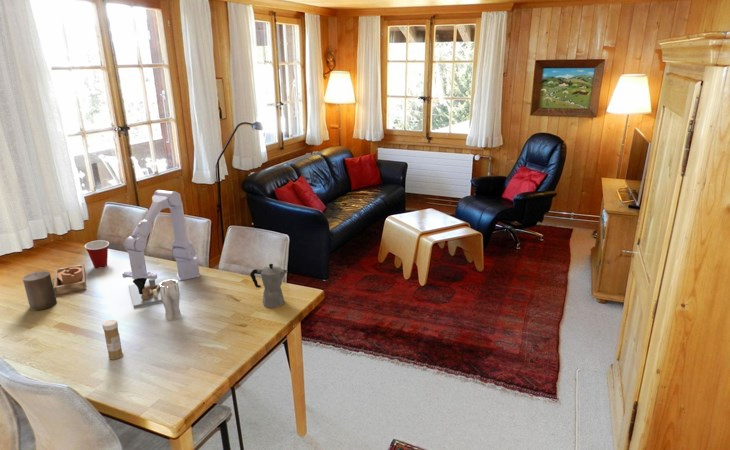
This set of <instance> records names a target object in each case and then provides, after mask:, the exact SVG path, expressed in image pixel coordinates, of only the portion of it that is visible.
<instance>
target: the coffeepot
mask: <svg viewBox="0 0 730 450" xmlns="http://www.w3.org/2000/svg"><path fill="white" fill-rule="evenodd" d="M287 273H288V270H287V269H285V268H284V269H283V268H282V267H281V266H275V265H274V264H273V263H269V264H268V266H266V267H264V268H260V269H256V268H255V269H253V270H252V271H251V272H250V274H249V275H250V277H251V280H252V281H253V285H254V286H255V288H256V289H257V288H262V285H263V287H264V289H263V296H262V304H263V306H264V307H265V308H268V309H275V308H279V307H281V306H283V305H284V303H285V299H284V294H283V291H282V287H281V286H282V283H283V278H284V277H285V275H286V274H287ZM255 274H256V275H260V276H261V277H260V278H261V281H262V285H261V284H259V283H258V281H257V277H256V275H255Z"/></svg>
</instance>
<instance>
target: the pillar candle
mask: <svg viewBox="0 0 730 450" xmlns="http://www.w3.org/2000/svg"><path fill="white" fill-rule="evenodd" d="M22 281H23V284H24V285H23V286H24V289H25V294H26V297H27V301H28V304H29V309H30V310H32V311H43V310H46V309H50V308H52V307H54V306H56V305H57V303H58V301H57V295H55V292H54V283H53V282H52V281H53V280H52V277H51V273H50V272H49V271H47V270H40V271H34V272H31V273H28V274H26V275H24V276H23V277H22Z"/></svg>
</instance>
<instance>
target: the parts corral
mask: <svg viewBox="0 0 730 450" xmlns="http://www.w3.org/2000/svg"><path fill="white" fill-rule="evenodd" d="M75 267H78V268H82V272H83V278H82V282H77V283H71V284H66V285H61V284H60V283H59V282H58V278H57V275H58V273H59V272H62V271H63V270H69V268H75ZM86 276H87V275H86V268H85V264H77V265H70V266H67V267H60V268H55V270H54V278H53V288H54V292H55V296H57V295H62V294H67V293H72V292H76V291H77V292H78V291H82V290H86V289H87V281H86V280H87V279H86ZM59 284H60V285H59Z"/></svg>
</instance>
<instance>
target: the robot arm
mask: <svg viewBox="0 0 730 450" xmlns="http://www.w3.org/2000/svg"><path fill="white" fill-rule="evenodd" d="M181 197H182V196H181V193H179V192H177V191H172V190H171V191H170V190H162V189H157V190H155V191H154V194H153V195H152V197H151V202H152V203H151V205H150V207H149V208H148V211H147V213H146V215H145V217H144V219H143V220H140V221H139V222H138V223H137V225H136V227H135V228H134V230H133V232H132V233H131V235H129V236H128V237H126V238H125V240H124V244H123V248H124V249H125V250H126V251H127V254H128V257H129V263H130V264H129V266H130V268H131V269H130V270H131V271H124V272H122V278H123V279H125V278H132V279H133V280H132V283H133V285H134V284H135V285H136V286H137V287H138V290H139V294H142V295H143V292H142V289H143V288H144V287H145V283H146V282H147V279H148V280H149V279H153V280H158V274H157V273H154V272H151V271H148V270H147V264H146V258H145V248H146V247H147V239H148V237H149V235H150V234H151V231H152V230H153V222H154V221H155V220H156V219H157V217H158V215H159V214H160V212H161V211H162V210H165V209H169V211H170V216H171V223H172V230H173V236H174V241H173V242H172V243H171V250H170V253H171V257H173V258H174V260H175V261H176V267H177V273H176V274H175V275H176V277H177V279H178V281H185V280H191V279H196V278H199V277H201V275H200V267H199V261H198V258H197V256H195V255H196V248H195V247H194V242H192V241H191V240H190V239H188V235H187V228H186V227H187V226H186V220H185V213H184V205H183V200H182V198H181Z"/></svg>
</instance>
